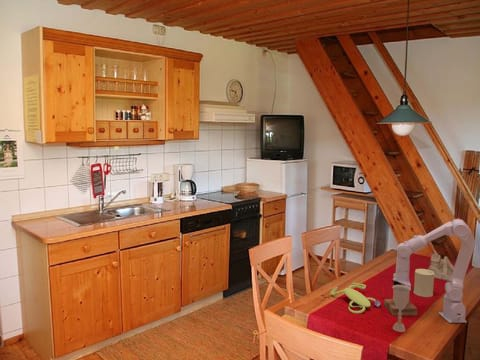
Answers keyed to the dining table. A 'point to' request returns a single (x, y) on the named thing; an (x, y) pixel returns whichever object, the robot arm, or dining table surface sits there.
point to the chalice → (400, 303)
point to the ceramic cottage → (441, 267)
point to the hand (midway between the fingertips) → (400, 297)
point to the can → (424, 282)
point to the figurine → (356, 297)
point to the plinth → (391, 306)
